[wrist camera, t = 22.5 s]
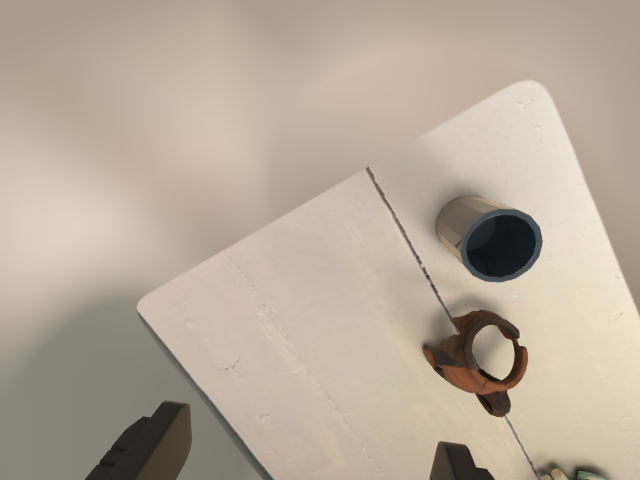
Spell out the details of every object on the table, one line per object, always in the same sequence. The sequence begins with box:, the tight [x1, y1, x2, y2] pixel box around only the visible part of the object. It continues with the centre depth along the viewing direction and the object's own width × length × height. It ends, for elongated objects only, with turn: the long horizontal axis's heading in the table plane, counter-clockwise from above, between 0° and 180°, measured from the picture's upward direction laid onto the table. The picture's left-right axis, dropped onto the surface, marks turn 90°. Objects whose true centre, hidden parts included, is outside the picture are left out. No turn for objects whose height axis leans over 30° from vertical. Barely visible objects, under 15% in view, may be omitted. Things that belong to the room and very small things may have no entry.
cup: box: [436, 196, 543, 282], centre depth 29 cm, size 6×6×8 cm
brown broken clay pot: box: [422, 310, 528, 417], centre depth 35 cm, size 12×10×8 cm
